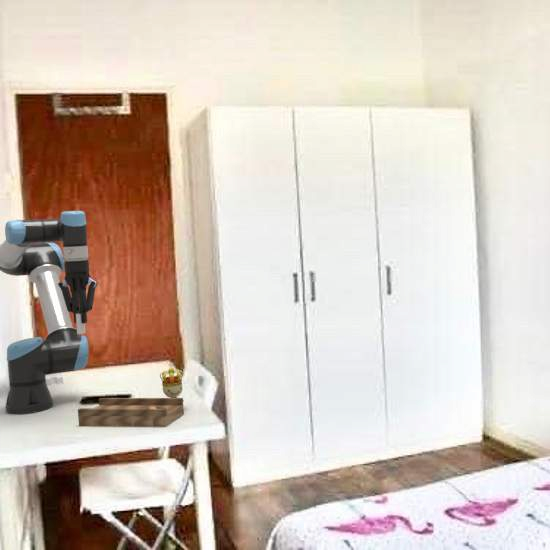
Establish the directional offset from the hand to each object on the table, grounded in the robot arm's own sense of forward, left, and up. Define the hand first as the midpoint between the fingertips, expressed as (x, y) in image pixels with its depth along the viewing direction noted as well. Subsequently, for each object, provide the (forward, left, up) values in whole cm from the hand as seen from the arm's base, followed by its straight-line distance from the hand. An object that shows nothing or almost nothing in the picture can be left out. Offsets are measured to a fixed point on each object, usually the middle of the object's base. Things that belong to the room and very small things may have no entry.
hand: (81, 333), depth 221 cm
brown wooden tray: (+20, -8, -26) cm, 33 cm away
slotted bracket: (-42, +47, -26) cm, 69 cm away
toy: (+28, +4, -26) cm, 39 cm away
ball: (+27, -9, -24) cm, 37 cm away
